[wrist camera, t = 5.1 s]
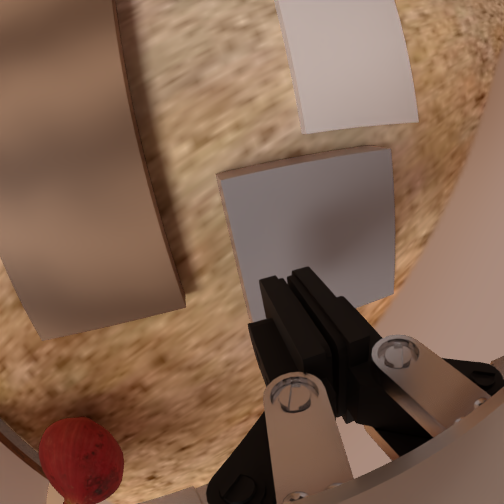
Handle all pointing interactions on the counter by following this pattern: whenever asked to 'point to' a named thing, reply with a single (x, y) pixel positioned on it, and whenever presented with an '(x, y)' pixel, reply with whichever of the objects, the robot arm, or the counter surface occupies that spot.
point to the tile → (314, 222)
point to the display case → (20, 471)
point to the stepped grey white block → (347, 63)
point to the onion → (81, 460)
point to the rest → (76, 174)
